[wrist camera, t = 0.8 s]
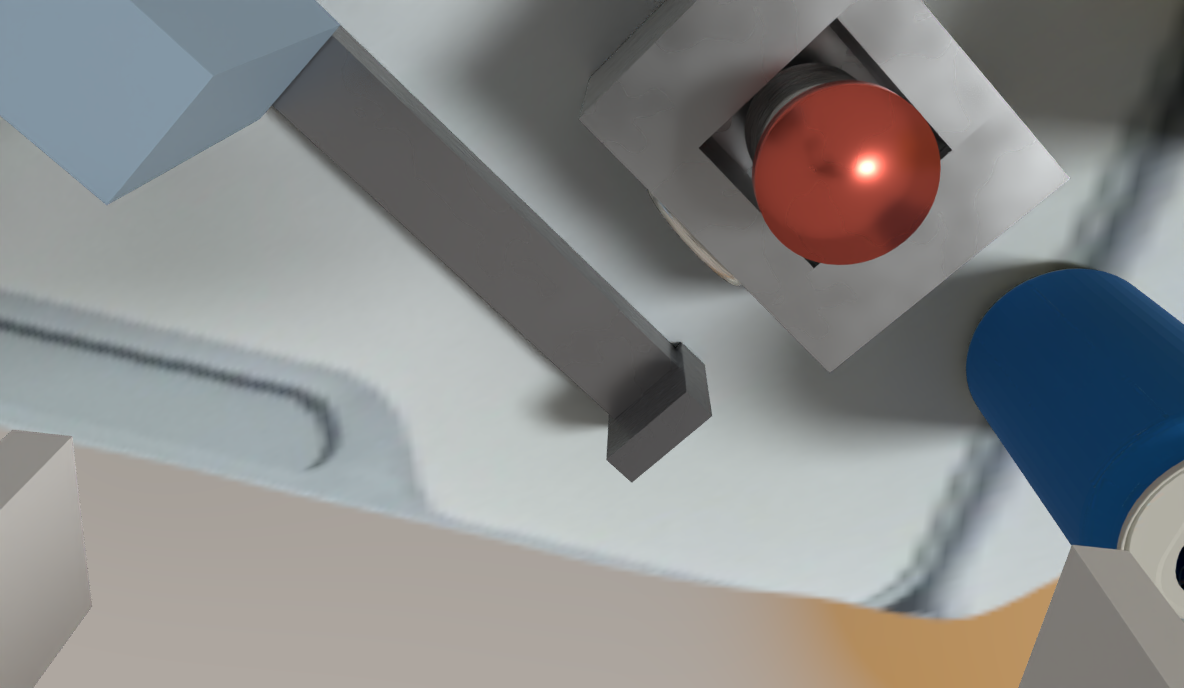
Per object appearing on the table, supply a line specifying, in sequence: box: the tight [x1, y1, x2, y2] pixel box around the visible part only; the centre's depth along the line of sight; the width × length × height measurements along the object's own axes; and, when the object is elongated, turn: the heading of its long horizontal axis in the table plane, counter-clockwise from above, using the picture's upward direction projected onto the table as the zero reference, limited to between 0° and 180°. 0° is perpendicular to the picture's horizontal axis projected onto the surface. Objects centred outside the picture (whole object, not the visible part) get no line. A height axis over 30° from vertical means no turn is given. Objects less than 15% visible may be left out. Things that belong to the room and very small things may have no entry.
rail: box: [272, 25, 712, 482], centre depth 32 cm, size 24×4×4 cm, turn 45°
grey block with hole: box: [579, 0, 1070, 373], centre depth 30 cm, size 10×8×7 cm
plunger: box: [745, 63, 941, 265], centre depth 26 cm, size 4×4×6 cm
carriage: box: [0, 0, 340, 205], centre depth 26 cm, size 5×4×10 cm
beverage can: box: [966, 268, 1184, 623], centre depth 30 cm, size 6×6×12 cm
